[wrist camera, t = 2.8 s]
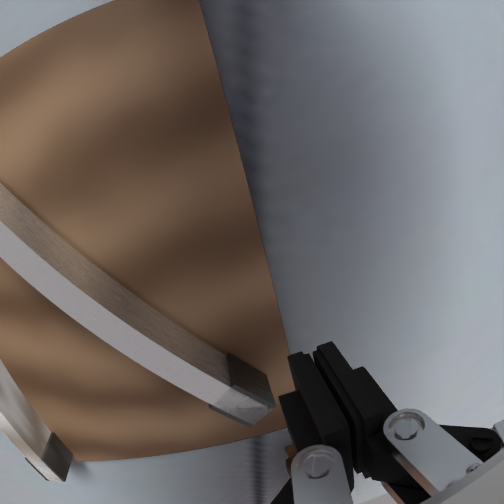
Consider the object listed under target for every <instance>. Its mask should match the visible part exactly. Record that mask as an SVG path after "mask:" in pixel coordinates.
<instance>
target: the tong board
mask: <svg viewBox="0 0 504 504" xmlns="http://www.w3.org/2000/svg"><path fill="white" fill-rule="evenodd" d="M0 183H1V184H2V185H3V186H4V187H5V188H6V189H7V190H8V191H9V192H11V193H12V194H13V195H14V196H15V197H16V198H17V199H18V200H19V201H20V202H21V203H22V204H23V205H24V206H26V207H27V208H28V209H29V210H30V211H31V212H32V213H33V214H34V215H36V216H37V217H38V218H39V219H40V220H41V221H42V222H44V223H45V224H46V225H47V226H48V227H49V228H50V229H52V230H53V231H54V232H55V233H56V234H57V235H59V236H60V237H61V238H62V239H63V240H65V241H66V242H67V243H68V244H69V245H71V246H72V247H73V248H74V249H76V250H77V251H78V252H79V253H81V254H82V255H83V256H84V257H85V258H87V259H88V260H89V261H91V262H92V263H93V264H94V265H96V266H97V267H98V268H99V269H101V270H102V271H103V272H105V273H106V274H107V275H109V276H110V277H111V278H113V279H114V280H115V281H117V282H118V283H119V284H121V285H122V286H123V287H125V288H126V289H127V290H129V291H130V292H131V293H133V294H134V295H136V296H137V297H138V298H140V299H141V300H143V301H144V302H145V303H147V304H148V305H150V306H151V307H152V308H154V309H155V310H157V311H158V312H160V313H161V314H163V315H164V316H166V317H167V318H168V319H170V320H171V321H173V322H174V323H176V324H177V325H179V326H180V327H182V328H183V329H185V330H186V331H188V332H189V333H191V334H193V335H194V336H196V337H197V338H199V339H200V340H202V341H203V342H205V343H207V344H208V345H210V346H211V347H213V348H215V349H216V350H218V351H219V352H221V353H223V354H224V355H227V354H228V353H229V352H230V353H231V354H233V355H234V356H236V357H238V358H239V359H241V360H243V361H244V362H246V363H248V364H249V365H251V366H253V367H254V368H256V369H258V370H260V371H261V372H263V373H265V374H266V375H267V378H268V381H269V384H270V387H271V391H272V394H273V397H274V400H275V403H276V407H275V408H274V409H272V410H271V411H270V412H269V413H268V414H267V415H265V416H264V417H263V418H262V419H261V420H260V421H258V422H257V423H256V424H255V425H254V426H252V427H251V428H250V427H248V426H245V425H243V424H241V423H239V422H237V421H235V420H232V419H230V418H228V417H226V416H224V415H222V414H220V413H218V412H216V411H214V410H212V409H210V408H209V403H207V402H205V401H203V400H201V399H199V398H198V397H196V396H194V395H192V394H190V393H188V392H186V391H185V390H183V389H181V388H179V387H177V386H176V385H174V384H172V383H170V382H169V381H167V380H165V379H163V378H162V377H160V376H158V375H157V374H155V373H153V372H152V371H150V370H148V369H147V368H145V367H143V366H142V365H140V364H139V363H137V362H135V361H134V360H132V359H131V358H129V357H128V356H126V355H124V354H123V353H121V352H120V351H118V350H117V349H115V348H114V347H112V346H111V345H109V344H108V343H106V342H105V341H104V340H102V339H101V338H99V337H98V336H96V335H95V334H94V333H92V332H91V331H89V330H88V329H87V328H85V327H84V326H82V325H81V324H80V323H78V322H77V321H76V320H74V319H73V318H72V317H70V316H69V315H68V314H66V313H65V312H64V311H63V310H61V309H60V308H59V307H57V306H56V305H55V304H54V303H52V302H51V301H50V300H49V299H47V298H46V297H45V296H44V295H43V294H41V293H40V292H39V291H38V290H37V289H35V288H34V287H33V286H32V285H31V284H30V283H28V282H27V281H26V280H25V279H24V278H23V277H22V276H20V275H19V274H18V273H17V272H16V271H15V270H14V269H13V268H12V267H10V266H9V265H8V264H7V263H6V262H5V261H4V260H3V259H2V258H1V257H0V428H1V429H2V430H3V432H4V433H5V434H6V435H7V436H8V438H9V439H10V440H11V441H12V442H13V443H14V445H15V446H16V447H17V448H18V449H19V450H20V451H21V452H22V454H23V455H24V456H25V459H26V460H27V461H28V462H29V463H30V464H31V465H32V466H33V468H34V469H35V470H36V471H37V472H38V473H39V474H41V475H42V476H43V477H44V478H45V479H46V480H48V481H64V482H65V481H66V477H67V474H68V470H69V467H70V463H71V461H101V460H117V459H130V458H140V457H149V456H157V455H165V454H172V453H178V452H185V451H191V450H196V449H202V448H207V447H212V446H217V445H222V444H226V443H231V442H235V441H239V440H244V439H248V438H252V437H256V436H259V435H263V434H267V433H270V432H274V431H277V430H281V429H284V428H288V427H287V424H286V421H285V418H284V415H283V412H282V409H281V405H280V402H279V398H278V396H280V395H283V394H287V393H290V392H293V391H295V386H294V382H293V378H292V374H291V370H290V366H289V362H288V358H287V356H289V355H290V353H289V349H288V345H287V340H286V336H285V332H284V328H283V324H282V320H281V316H280V311H279V307H278V303H277V299H276V295H275V291H274V287H273V283H272V279H271V275H270V271H269V267H268V263H267V258H266V254H265V250H264V246H263V242H262V238H261V234H260V230H259V226H258V222H257V219H256V215H255V211H254V207H253V203H252V199H251V195H250V191H249V187H248V183H247V179H246V175H245V171H244V167H243V164H242V160H241V156H240V152H239V148H238V144H237V140H236V137H235V133H234V129H233V125H232V121H231V117H230V114H229V110H228V106H227V102H226V98H225V95H224V91H223V87H222V83H221V80H220V76H219V72H218V68H217V65H216V61H215V57H214V54H213V50H212V46H211V42H210V39H209V35H208V31H207V28H206V24H205V20H204V17H203V13H202V10H201V6H200V2H199V0H114V1H112V2H109V3H106V4H104V5H101V6H99V7H96V8H94V9H91V10H89V11H86V12H84V13H82V14H79V15H77V16H75V17H73V18H71V19H68V20H66V21H64V22H62V23H60V24H58V25H56V26H54V27H52V28H50V29H48V30H46V31H44V32H42V33H41V34H39V35H37V36H35V37H33V38H31V39H30V40H28V41H26V42H24V43H23V44H21V45H19V46H18V47H16V48H14V49H13V50H11V51H10V52H8V53H6V54H5V55H3V56H2V57H0Z"/></svg>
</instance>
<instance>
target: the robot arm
mask: <svg viewBox="0 0 504 504" xmlns="http://www.w3.org/2000/svg"><path fill="white" fill-rule="evenodd" d="M313 357H314V361H313V359H312V358H311V356H310V354H309V353H308V354H305V355H304V354H303V352H302V351H301V352H298V353H295V354H292V355H289V356H287V358H288V362H289V366H290V370H291V374H292V378H293V382H294V386H295V391H293V392H290V393H287V394H283V395H280V396H278V398H279V402H280V405H281V409H282V412H283V415H284V418H285V421H286V424H287V427H288V430H289V433H290V436H291V439H292V442H293V445H294V448H295V451H296V453H297V455H296V456H295V457H294V459H293V461H292V463H291V475H292V476H291V478H290V479H289V480H288V482H287V483H286V484H285V486H284V487H283V488H282V490H281V491H280V492H279V494H278V495H277V496H276V497H275V499H274V500H273V501H272V502H271V504H353V501H352V497H351V492H352V490H353V488H354V475H353V468H354V470H355V471H356V473H357V474H358V473H361V472H362V473H363V475H364V477H365V479H366V478H368V477H371V478H372V480H376V481H381V484H382V486H383V487H384V488H385V490H386V491H387V492H388V493H389V494H390V495H391V497H392V498H393V499H394V500H395V501H396V502H397V504H504V420H502V421H500V422H498V423H496V424H494V425H493V428H491V429H488V428H477V427H461V426H448V425H438V424H437V423H435V422H434V421H433V420H432V419H431V418H430V417H428V416H427V415H426V414H425V413H423V412H421V411H420V410H416V409H402V410H399V411H398V410H397V409H396V408H395V406H394V405H393V404H392V402H391V401H390V400H389V398H388V397H387V396H386V395H385V393H384V392H383V391H382V389H381V388H380V387H379V385H378V384H377V383H376V382H375V380H374V379H373V378H372V376H371V375H370V374H369V373H368V371H367V370H366V369H365V368H364V367H359V368H357V369H354V370H352V368H351V367H350V365H349V364H348V363H347V361H346V360H345V358H344V357H343V356H342V354H341V353H340V351H339V350H338V349H337V347H336V346H335V345H334V343H333V342H332V341H331V342H328V343H325V344H322V345H319V346H317V351H314V352H313Z"/></svg>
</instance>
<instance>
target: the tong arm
mask: <svg viewBox="0 0 504 504" xmlns="http://www.w3.org/2000/svg"><path fill="white" fill-rule="evenodd" d="M0 257H1V258H2V259H3V260H4V261H5V262H6V263H7V264H8V265H9V266H10V267H12V268H13V269H14V270H15V271H16V272H17V273H18V274H19V275H20V276H22V277H23V278H24V279H25V280H26V281H27V282H28V283H30V284H31V285H32V286H33V287H34V288H35V289H37V290H38V291H39V292H40V293H41V294H43V295H44V296H45V297H46V298H47V299H49V300H50V301H51V302H52V303H54V304H55V305H56V306H57V307H59V308H60V309H61V310H63V311H64V312H65V313H66V314H68V315H69V316H70V317H72V318H73V319H74V320H76V321H77V322H78V323H80V324H81V325H82V326H84V327H85V328H87V329H88V330H89V331H91V332H92V333H94V334H95V335H96V336H98V337H99V338H101V339H102V340H104V341H105V342H106V343H108V344H109V345H111V346H112V347H114V348H115V349H117V350H118V351H120V352H121V353H123V354H124V355H126V356H128V357H129V358H131V359H132V360H134V361H135V362H137V363H139V364H140V365H142V366H143V367H145V368H147V369H148V370H150V371H152V372H153V373H155V374H157V375H158V376H160V377H162V378H163V379H165V380H167V381H169V382H170V383H172V384H174V385H176V386H177V387H179V388H181V389H183V390H185V391H186V392H188V393H190V394H192V395H194V396H196V397H198V398H199V399H201V400H203V401H205V402H207V403H209V408H210V409H212V410H214V411H216V412H218V413H220V414H222V415H224V416H226V417H228V418H230V419H232V420H235V421H237V422H239V423H241V424H243V425H245V426H248V427H250V428H251V427H252V426H254V425H255V424H256V423H257V422H258V421H260V420H261V419H262V418H263V417H264V416H265V415H267V414H268V413H269V412H270V411H271V410H272V409H274V408H275V407H276V403H275V400H274V397H273V394H272V391H271V387H270V384H269V381H268V378H267V375H266V374H265V373H263V372H261V371H260V370H258V369H256V368H254V367H253V366H251V365H249V364H248V363H246V362H244V361H243V360H241V359H239V358H238V357H236V356H234V355H233V354H231V353H230V352H229V353H228V354H227V355H224V354H223V353H221V352H219V351H218V350H216V349H215V348H213V347H211V346H210V345H208V344H207V343H205V342H203V341H202V340H200V339H199V338H197V337H196V336H194V335H193V334H191V333H189V332H188V331H186V330H185V329H183V328H182V327H180V326H179V325H177V324H176V323H174V322H173V321H171V320H170V319H168V318H167V317H166V316H164V315H163V314H161V313H160V312H158V311H157V310H155V309H154V308H152V307H151V306H150V305H148V304H147V303H145V302H144V301H143V300H141V299H140V298H138V297H137V296H136V295H134V294H133V293H131V292H130V291H129V290H127V289H126V288H125V287H123V286H122V285H121V284H119V283H118V282H117V281H115V280H114V279H113V278H111V277H110V276H109V275H107V274H106V273H105V272H103V271H102V270H101V269H99V268H98V267H97V266H96V265H94V264H93V263H92V262H91V261H89V260H88V259H87V258H85V257H84V256H83V255H82V254H81V253H79V252H78V251H77V250H76V249H74V248H73V247H72V246H71V245H69V244H68V243H67V242H66V241H65V240H63V239H62V238H61V237H60V236H59V235H57V234H56V233H55V232H54V231H53V230H52V229H50V228H49V227H48V226H47V225H46V224H45V223H44V222H42V221H41V220H40V219H39V218H38V217H37V216H36V215H34V214H33V213H32V212H31V211H30V210H29V209H28V208H27V207H26V206H24V205H23V204H22V203H21V202H20V201H19V200H18V199H17V198H16V197H15V196H14V195H13V194H12V193H11V192H9V191H8V190H7V189H6V188H5V187H4V186H3V185H2V184H1V183H0Z"/></svg>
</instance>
